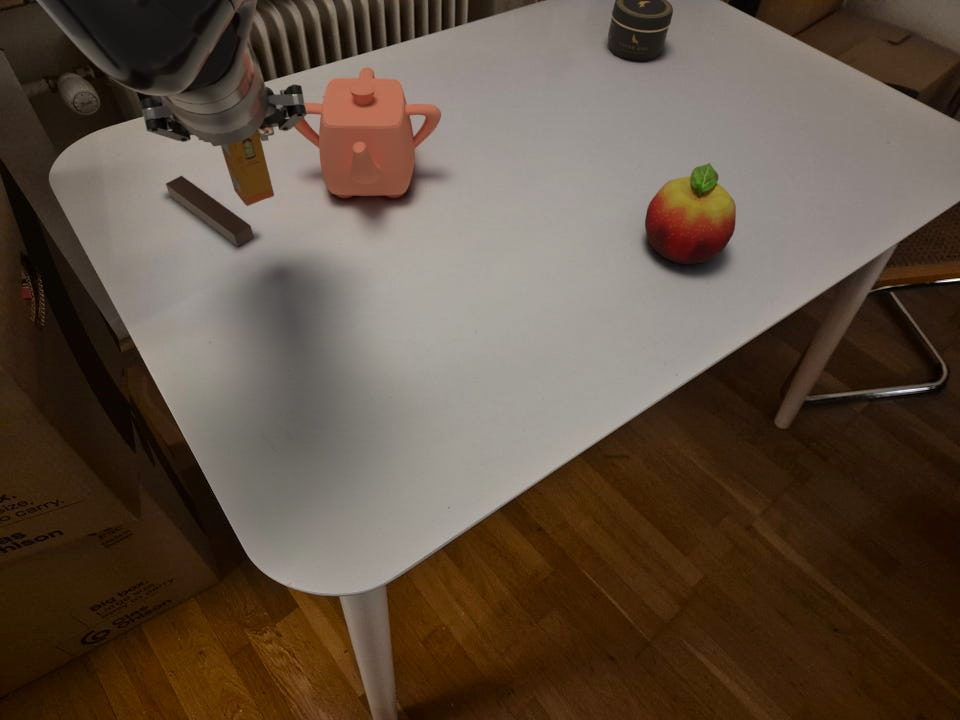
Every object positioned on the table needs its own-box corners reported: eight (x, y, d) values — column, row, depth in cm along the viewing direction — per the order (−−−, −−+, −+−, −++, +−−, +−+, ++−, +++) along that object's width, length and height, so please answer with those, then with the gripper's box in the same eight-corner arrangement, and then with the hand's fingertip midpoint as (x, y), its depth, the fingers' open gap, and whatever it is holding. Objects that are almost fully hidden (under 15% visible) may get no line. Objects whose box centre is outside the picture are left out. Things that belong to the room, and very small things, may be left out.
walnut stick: (238, 247, 81) (234, 234, 80) (170, 196, 86) (165, 183, 85) (254, 237, 82) (250, 225, 81) (186, 187, 87) (181, 175, 86)
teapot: (369, 130, 98) (361, 41, 87) (452, 175, 92) (454, 86, 82) (281, 183, 89) (261, 92, 79) (367, 236, 84) (357, 145, 73)
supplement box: (261, 180, 72) (241, 94, 64) (275, 197, 70) (256, 110, 63) (232, 190, 71) (207, 103, 63) (245, 208, 69) (222, 120, 61)
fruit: (627, 260, 84) (647, 195, 76) (649, 210, 90) (670, 146, 82) (711, 288, 81) (741, 225, 73) (728, 235, 88) (757, 172, 80)
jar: (602, 58, 115) (611, 12, 109) (608, 31, 121) (617, -14, 115) (660, 67, 114) (673, 22, 108) (663, 40, 120) (675, -4, 114)
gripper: (297, 22, 51) (304, 87, 68) (98, 37, 48) (155, 101, 65) (316, 122, 52) (317, 162, 69) (122, 143, 49) (172, 179, 66)
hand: (239, 132), depth 67 cm, fingers closed on supplement box, 4 cm apart
